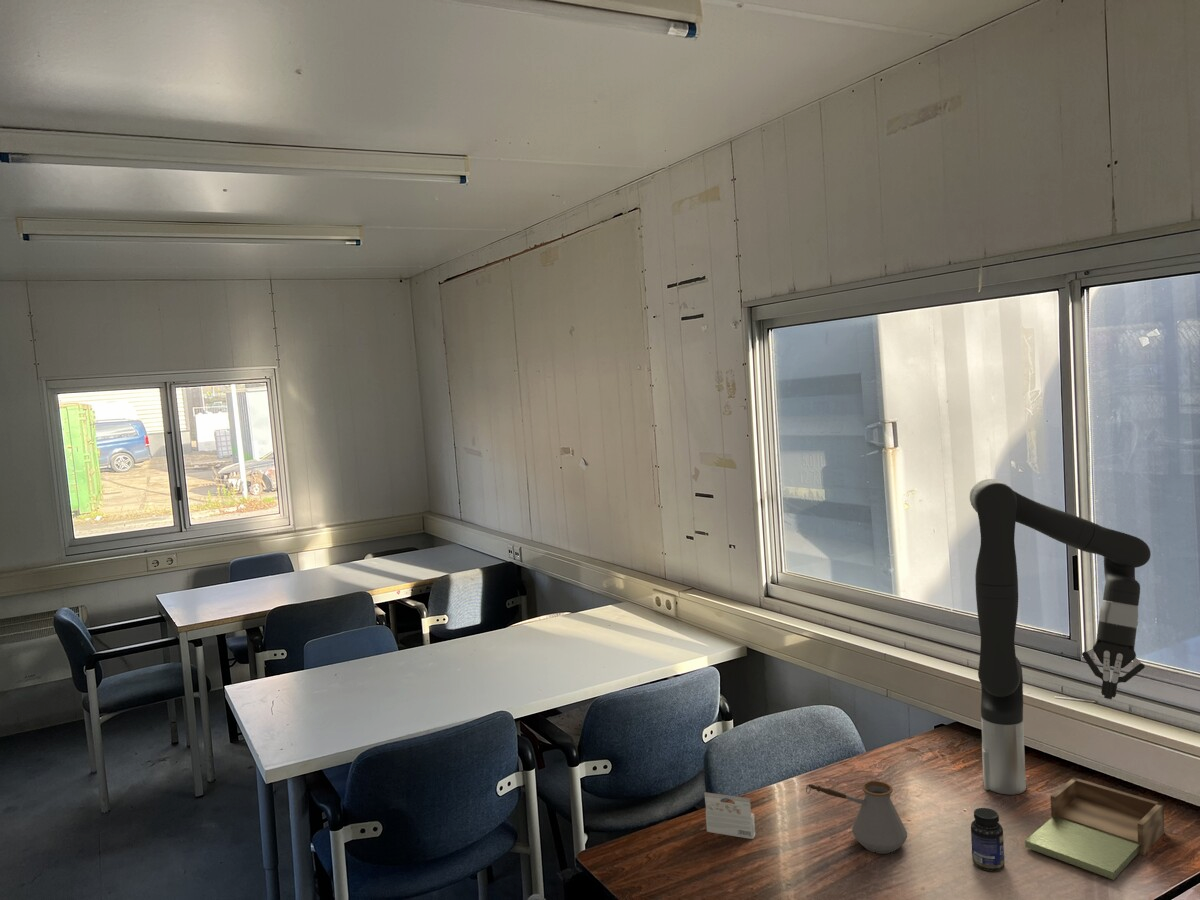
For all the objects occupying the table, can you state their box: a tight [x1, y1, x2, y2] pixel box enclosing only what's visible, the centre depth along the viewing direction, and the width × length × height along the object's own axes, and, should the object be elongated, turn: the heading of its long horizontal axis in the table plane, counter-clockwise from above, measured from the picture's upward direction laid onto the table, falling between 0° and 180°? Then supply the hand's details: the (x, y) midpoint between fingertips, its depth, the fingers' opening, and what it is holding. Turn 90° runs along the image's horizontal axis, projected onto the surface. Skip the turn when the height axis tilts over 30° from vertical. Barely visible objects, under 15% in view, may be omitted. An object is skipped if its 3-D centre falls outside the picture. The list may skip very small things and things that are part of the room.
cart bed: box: [1050, 776, 1165, 856], centre depth 185 cm, size 12×18×6 cm, turn 39°
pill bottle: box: [970, 807, 1006, 873], centre depth 175 cm, size 6×6×11 cm
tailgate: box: [1024, 816, 1140, 880], centre depth 177 cm, size 2×17×14 cm
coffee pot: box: [805, 780, 908, 854], centre depth 186 cm, size 21×12×15 cm, turn 92°
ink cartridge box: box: [703, 791, 756, 840], centre depth 195 cm, size 2×11×10 cm, turn 65°
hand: (1108, 698), depth 194 cm, fingers closed
